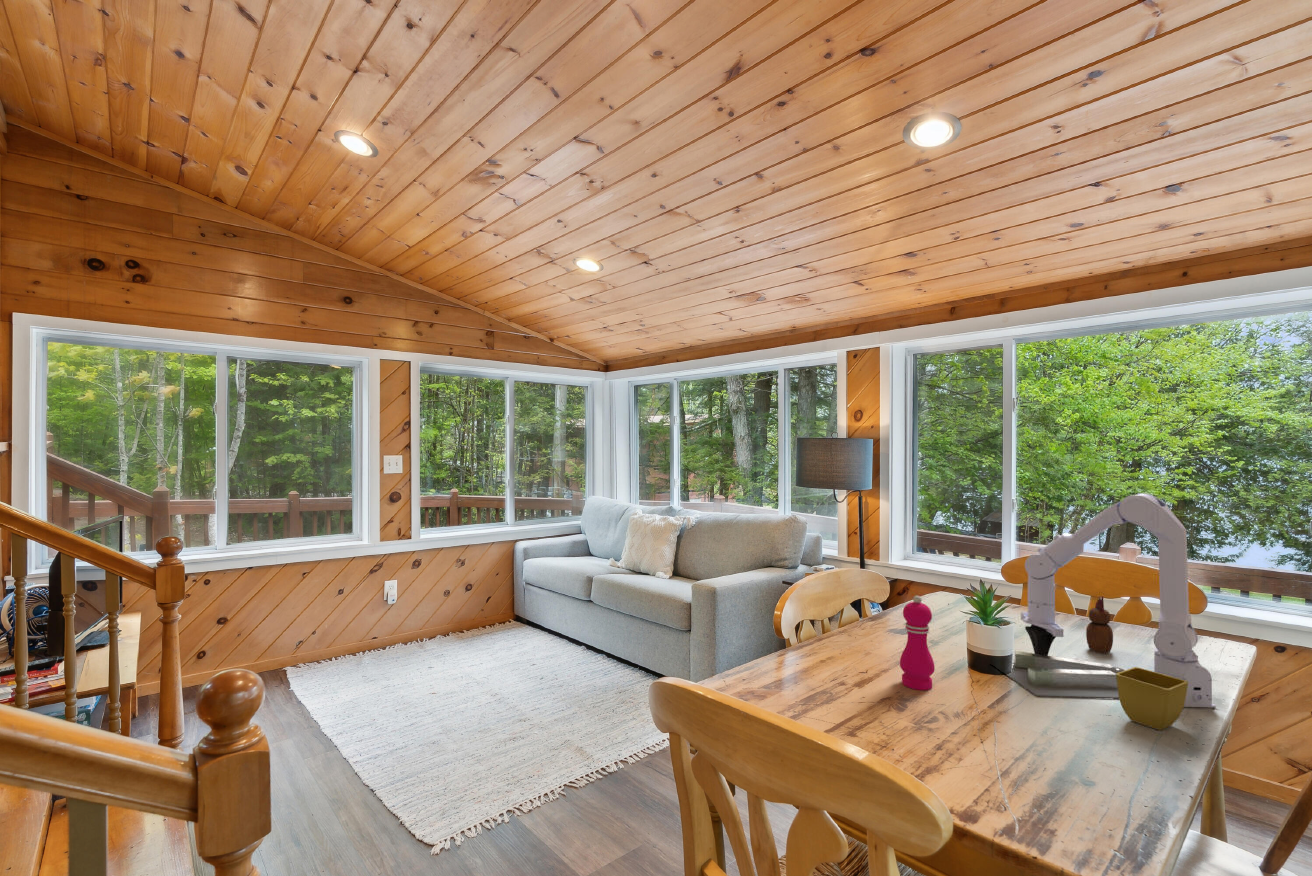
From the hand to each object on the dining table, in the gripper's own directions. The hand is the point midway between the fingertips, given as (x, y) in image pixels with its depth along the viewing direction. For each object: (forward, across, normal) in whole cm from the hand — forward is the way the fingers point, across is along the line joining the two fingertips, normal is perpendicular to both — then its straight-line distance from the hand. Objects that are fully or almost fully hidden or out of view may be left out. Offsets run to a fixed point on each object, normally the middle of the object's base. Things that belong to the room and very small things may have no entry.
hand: (1041, 657), depth 151 cm
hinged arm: (+1, +7, +2) cm, 8 cm away
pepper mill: (+2, +15, -36) cm, 39 cm away
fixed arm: (+2, +14, -1) cm, 14 cm away
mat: (+2, +10, +1) cm, 10 cm away
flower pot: (+2, +32, +3) cm, 32 cm away
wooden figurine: (+2, -12, +22) cm, 25 cm away
